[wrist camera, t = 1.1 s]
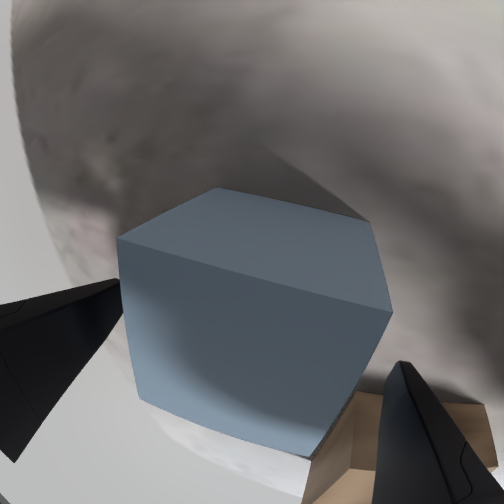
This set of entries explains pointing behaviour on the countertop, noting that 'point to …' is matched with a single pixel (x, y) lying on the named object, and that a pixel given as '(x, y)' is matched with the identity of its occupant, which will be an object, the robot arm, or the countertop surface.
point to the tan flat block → (365, 450)
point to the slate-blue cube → (252, 314)
